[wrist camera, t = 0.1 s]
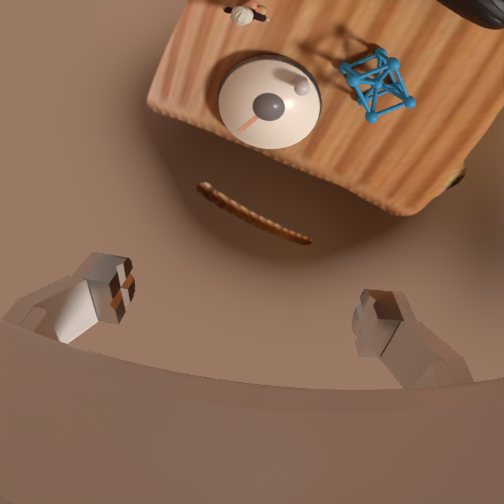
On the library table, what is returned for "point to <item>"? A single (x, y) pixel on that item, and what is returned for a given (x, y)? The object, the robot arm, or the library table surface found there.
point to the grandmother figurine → (247, 13)
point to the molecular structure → (377, 84)
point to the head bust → (479, 11)
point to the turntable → (269, 104)
